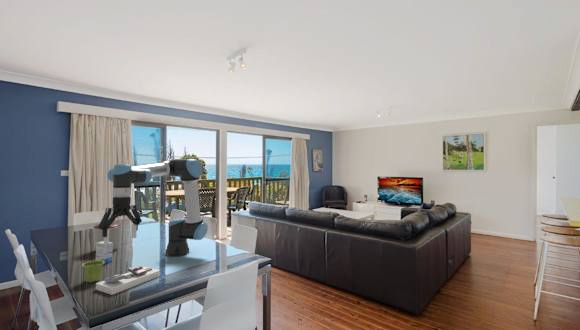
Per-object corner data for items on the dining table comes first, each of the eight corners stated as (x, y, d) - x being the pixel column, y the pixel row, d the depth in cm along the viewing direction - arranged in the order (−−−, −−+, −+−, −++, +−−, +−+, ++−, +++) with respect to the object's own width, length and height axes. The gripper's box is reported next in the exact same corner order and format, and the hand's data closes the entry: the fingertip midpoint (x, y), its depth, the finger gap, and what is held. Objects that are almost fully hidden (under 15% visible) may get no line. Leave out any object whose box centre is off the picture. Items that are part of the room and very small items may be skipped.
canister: (85, 251, 194) (85, 220, 194) (110, 245, 211) (111, 216, 211) (103, 255, 187) (103, 223, 187) (128, 248, 204) (128, 218, 204)
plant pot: (89, 276, 150) (89, 260, 151) (107, 276, 151) (108, 260, 151) (77, 284, 141) (77, 266, 141) (97, 283, 142) (97, 266, 142)
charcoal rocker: (127, 272, 147) (128, 266, 147) (136, 269, 152) (137, 263, 152) (137, 277, 144) (138, 271, 144) (146, 274, 148) (147, 268, 148)
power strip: (96, 289, 135) (96, 282, 135) (144, 272, 159) (145, 266, 159) (111, 294, 130) (112, 287, 130) (160, 275, 153) (160, 269, 153)
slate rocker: (104, 283, 136) (104, 277, 137) (114, 279, 141) (114, 273, 141) (115, 283, 133) (114, 277, 133) (125, 279, 137) (124, 273, 138)
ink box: (112, 261, 176) (113, 242, 176) (105, 263, 171) (105, 244, 171) (102, 259, 178) (103, 240, 178) (95, 262, 174) (95, 242, 174)
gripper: (99, 199, 124) (98, 247, 124) (149, 194, 147) (148, 236, 146) (89, 198, 127) (88, 245, 127) (140, 194, 150) (139, 234, 149)
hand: (120, 240), depth 137 cm, fingers open, 13 cm apart
